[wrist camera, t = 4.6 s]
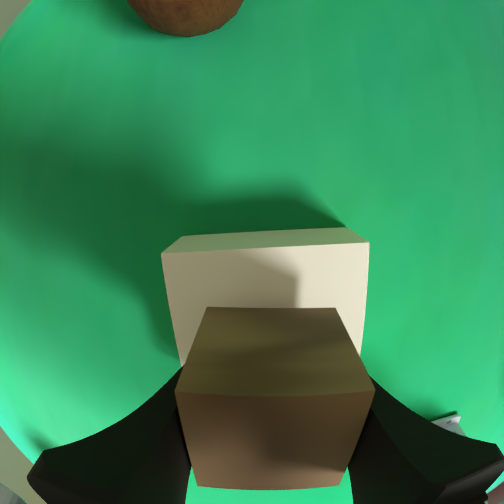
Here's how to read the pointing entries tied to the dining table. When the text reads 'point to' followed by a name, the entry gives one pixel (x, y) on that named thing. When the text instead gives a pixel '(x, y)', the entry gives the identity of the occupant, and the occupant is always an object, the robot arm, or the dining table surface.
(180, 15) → the wooden figurine
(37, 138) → the dining table surface
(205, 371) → the walnut cube
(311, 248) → the cream base block
